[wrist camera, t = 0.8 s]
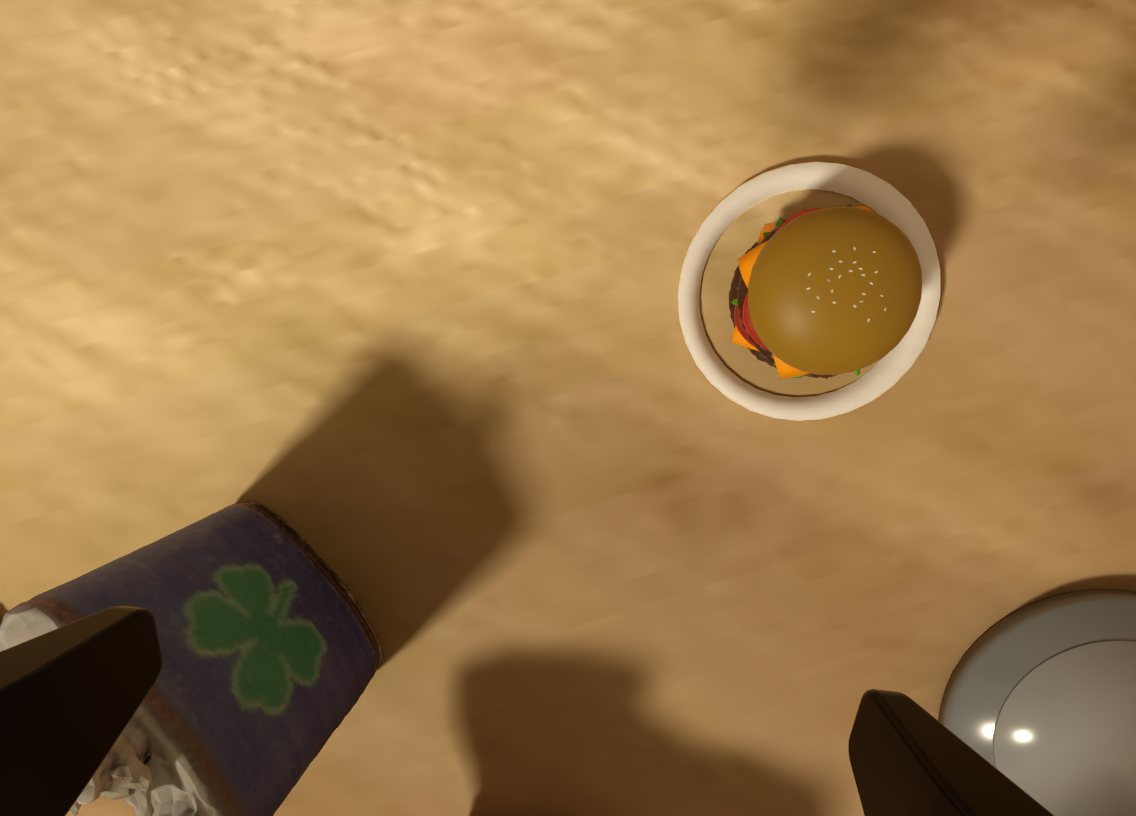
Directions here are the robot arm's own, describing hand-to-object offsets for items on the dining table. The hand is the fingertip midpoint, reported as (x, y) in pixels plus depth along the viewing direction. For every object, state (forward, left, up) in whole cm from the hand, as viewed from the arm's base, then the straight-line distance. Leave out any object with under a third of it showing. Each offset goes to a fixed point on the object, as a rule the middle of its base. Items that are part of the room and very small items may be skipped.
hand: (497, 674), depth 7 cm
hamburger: (+7, -7, -16) cm, 18 cm away
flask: (-9, +9, -15) cm, 20 cm away
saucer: (-6, -21, -15) cm, 27 cm away
